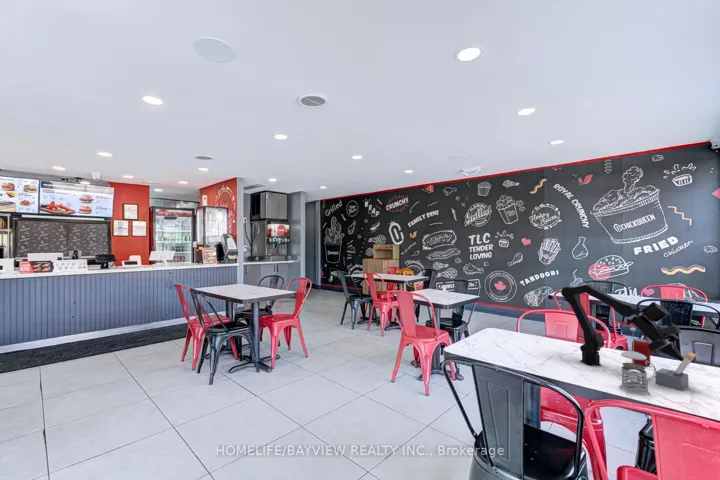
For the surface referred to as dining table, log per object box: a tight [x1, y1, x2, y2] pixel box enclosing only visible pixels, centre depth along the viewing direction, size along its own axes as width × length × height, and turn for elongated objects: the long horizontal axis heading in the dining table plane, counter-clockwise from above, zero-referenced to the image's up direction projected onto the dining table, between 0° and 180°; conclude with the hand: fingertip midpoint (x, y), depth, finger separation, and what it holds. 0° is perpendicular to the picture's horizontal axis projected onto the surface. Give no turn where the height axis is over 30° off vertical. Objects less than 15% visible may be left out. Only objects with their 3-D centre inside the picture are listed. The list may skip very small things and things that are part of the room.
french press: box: [618, 327, 657, 396], centre depth 129 cm, size 10×12×25 cm
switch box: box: [654, 367, 690, 392], centre depth 134 cm, size 8×9×6 cm
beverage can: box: [631, 338, 651, 367], centre depth 159 cm, size 7×7×12 cm
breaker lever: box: [674, 351, 697, 374], centre depth 131 cm, size 2×5×10 cm, turn 121°
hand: (683, 360), depth 131 cm, fingers closed
